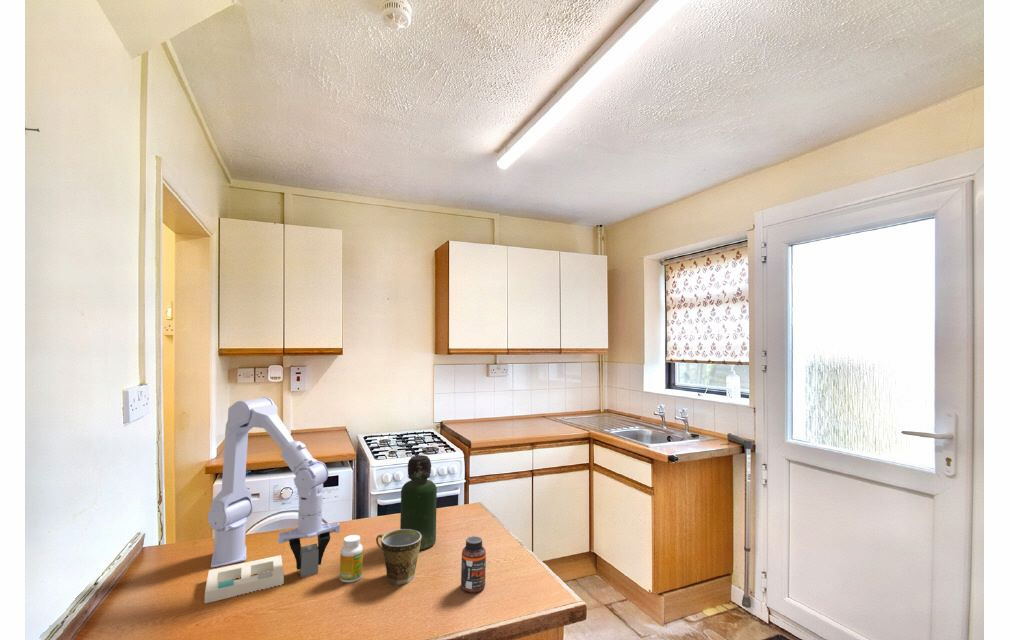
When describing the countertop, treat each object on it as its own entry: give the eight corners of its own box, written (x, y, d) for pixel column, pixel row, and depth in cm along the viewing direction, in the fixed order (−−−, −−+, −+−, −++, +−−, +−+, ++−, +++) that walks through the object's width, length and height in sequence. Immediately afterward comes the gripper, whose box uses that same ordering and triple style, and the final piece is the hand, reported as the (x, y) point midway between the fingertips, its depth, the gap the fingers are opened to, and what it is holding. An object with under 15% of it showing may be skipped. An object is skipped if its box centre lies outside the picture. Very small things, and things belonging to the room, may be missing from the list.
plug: (299, 570, 114) (300, 545, 114) (315, 566, 116) (316, 542, 116) (300, 577, 110) (301, 552, 111) (318, 573, 112) (318, 548, 113)
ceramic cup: (428, 572, 113) (429, 533, 114) (404, 592, 104) (405, 549, 105) (388, 561, 119) (389, 524, 119) (362, 579, 110) (363, 538, 110)
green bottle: (394, 541, 131) (396, 456, 132) (426, 532, 137) (427, 451, 139) (409, 555, 123) (410, 464, 124) (442, 545, 129) (443, 458, 130)
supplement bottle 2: (472, 597, 103) (473, 547, 103) (455, 587, 107) (456, 539, 107) (490, 586, 107) (491, 539, 108) (473, 577, 111) (474, 532, 112)
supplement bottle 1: (355, 584, 108) (356, 543, 108) (335, 581, 109) (336, 541, 109) (366, 573, 113) (367, 534, 113) (347, 570, 114) (348, 532, 114)
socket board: (208, 580, 109) (208, 568, 109) (280, 564, 117) (281, 553, 117) (204, 603, 99) (205, 590, 99) (283, 584, 107) (283, 572, 107)
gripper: (280, 522, 107) (278, 580, 106) (342, 511, 114) (341, 565, 113) (278, 512, 113) (276, 567, 112) (337, 503, 120) (336, 553, 120)
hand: (308, 565), depth 113 cm, fingers open, 4 cm apart
